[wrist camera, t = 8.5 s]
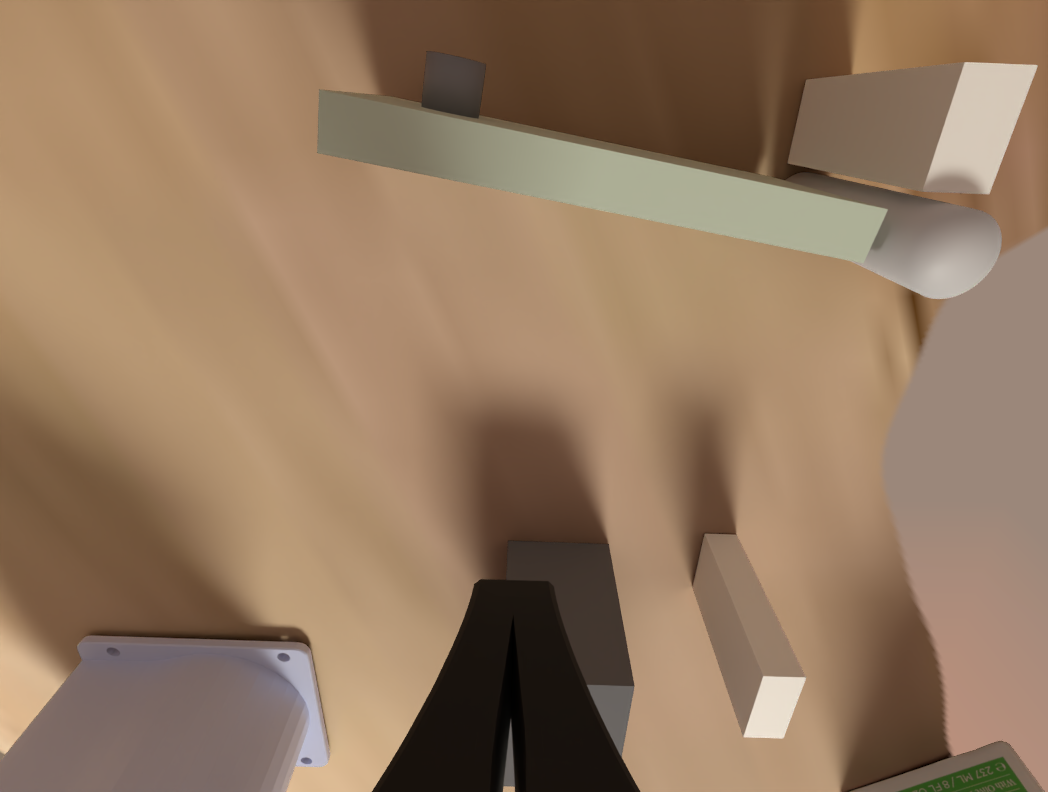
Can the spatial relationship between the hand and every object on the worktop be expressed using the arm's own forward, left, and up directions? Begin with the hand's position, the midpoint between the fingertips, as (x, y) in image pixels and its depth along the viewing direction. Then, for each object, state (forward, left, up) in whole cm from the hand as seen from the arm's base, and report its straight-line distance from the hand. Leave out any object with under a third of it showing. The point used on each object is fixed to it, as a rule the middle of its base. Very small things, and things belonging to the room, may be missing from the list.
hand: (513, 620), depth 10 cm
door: (+1, +8, -9) cm, 12 cm away
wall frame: (+8, +1, -9) cm, 12 cm away
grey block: (+2, -9, -9) cm, 13 cm away
